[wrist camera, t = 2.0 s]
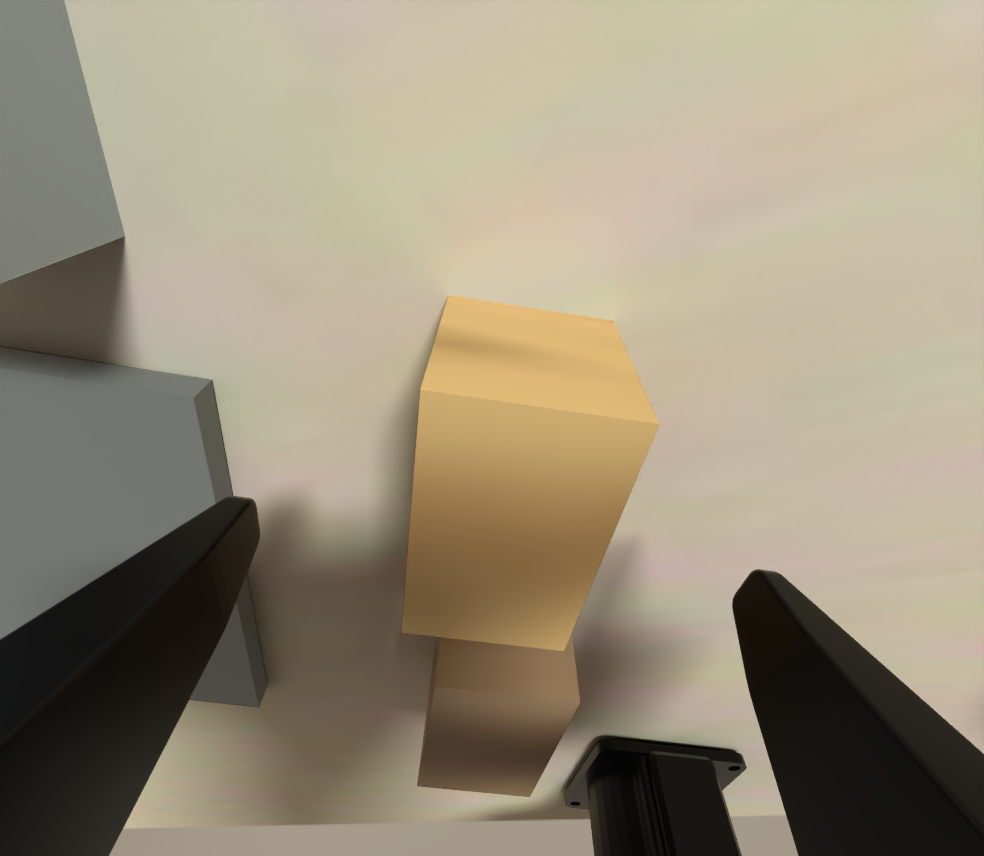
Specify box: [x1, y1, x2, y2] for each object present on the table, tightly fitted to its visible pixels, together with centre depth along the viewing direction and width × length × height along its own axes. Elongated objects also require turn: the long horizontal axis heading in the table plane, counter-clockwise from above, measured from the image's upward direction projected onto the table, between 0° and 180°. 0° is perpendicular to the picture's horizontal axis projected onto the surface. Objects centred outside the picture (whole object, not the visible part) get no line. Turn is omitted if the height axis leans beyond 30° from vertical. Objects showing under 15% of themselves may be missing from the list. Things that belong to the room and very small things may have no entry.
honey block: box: [401, 295, 659, 651], centre depth 10 cm, size 6×4×4 cm, turn 171°
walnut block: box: [417, 633, 580, 797], centre depth 15 cm, size 6×4×4 cm, turn 171°
